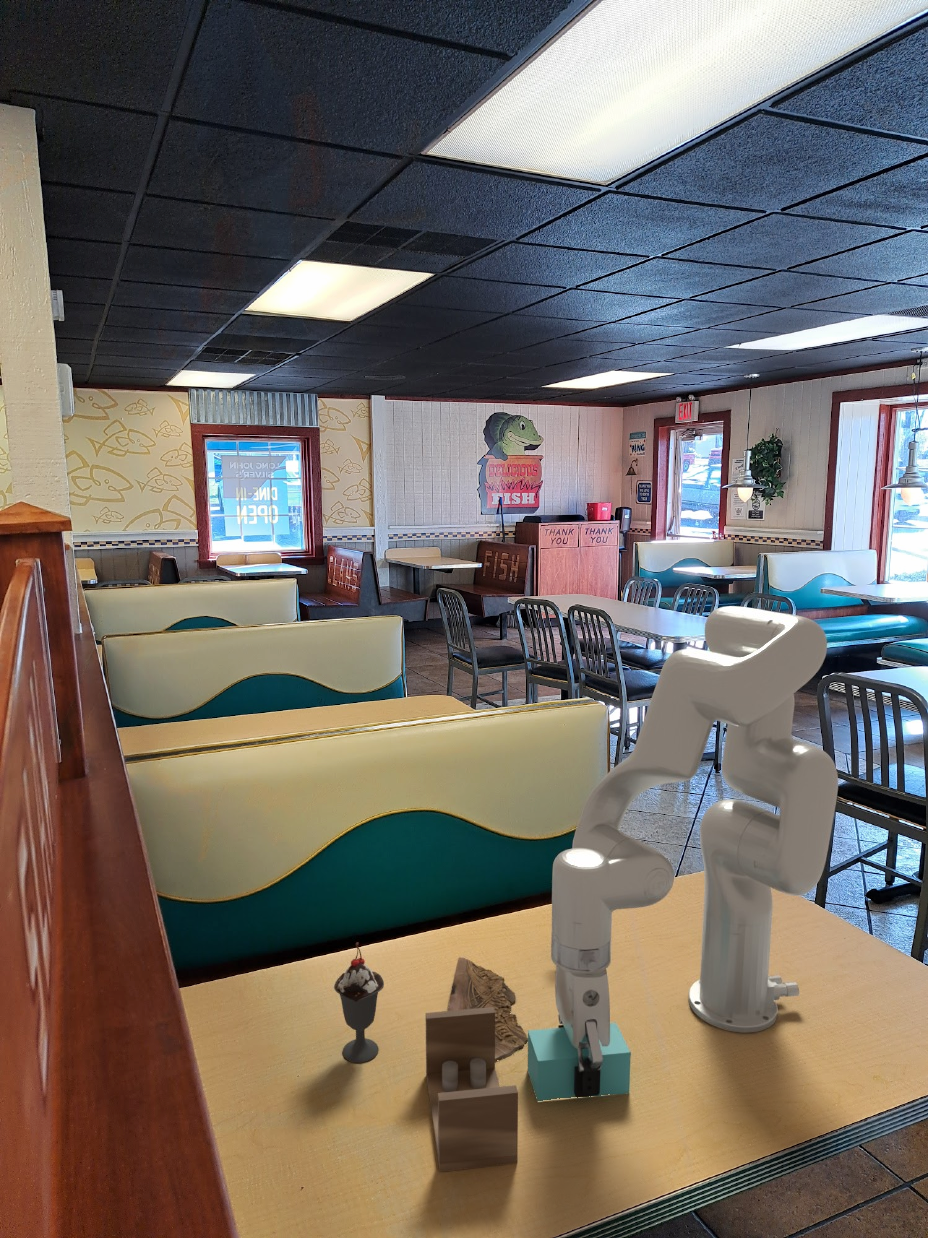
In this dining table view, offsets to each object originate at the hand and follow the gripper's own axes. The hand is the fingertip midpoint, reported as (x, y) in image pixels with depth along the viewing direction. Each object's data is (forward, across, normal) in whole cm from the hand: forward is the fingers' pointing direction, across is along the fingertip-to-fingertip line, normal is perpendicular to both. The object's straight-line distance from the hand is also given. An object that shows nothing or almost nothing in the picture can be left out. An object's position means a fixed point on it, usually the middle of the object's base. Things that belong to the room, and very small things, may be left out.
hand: (578, 1072), depth 110 cm
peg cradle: (+1, -4, +15) cm, 16 cm away
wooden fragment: (+2, +18, +10) cm, 21 cm away
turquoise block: (+2, 0, 0) cm, 2 cm away
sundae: (+2, +10, +28) cm, 30 cm away
